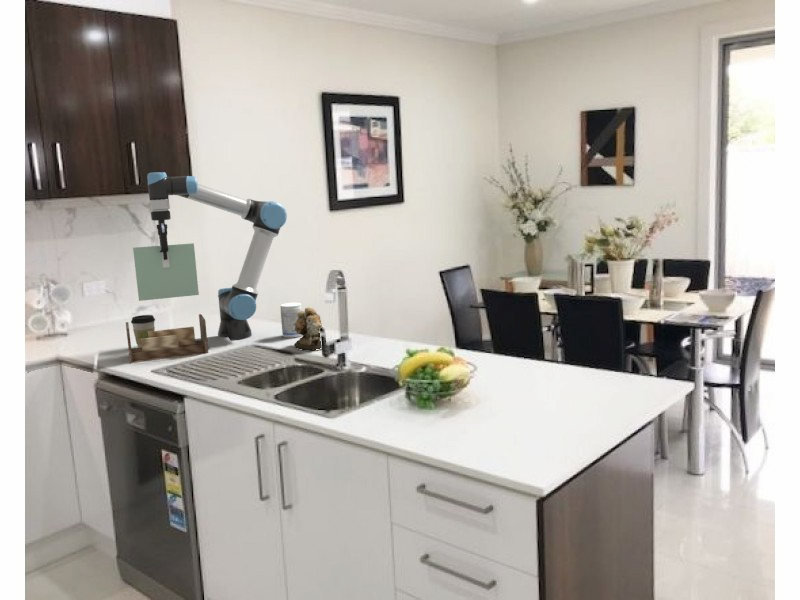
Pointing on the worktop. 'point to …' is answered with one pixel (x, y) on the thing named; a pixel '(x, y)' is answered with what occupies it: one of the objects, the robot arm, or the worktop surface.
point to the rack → (180, 351)
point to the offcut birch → (159, 343)
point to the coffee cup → (142, 327)
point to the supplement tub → (290, 319)
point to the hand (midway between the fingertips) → (166, 267)
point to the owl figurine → (308, 329)
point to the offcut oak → (183, 334)
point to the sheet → (166, 272)
